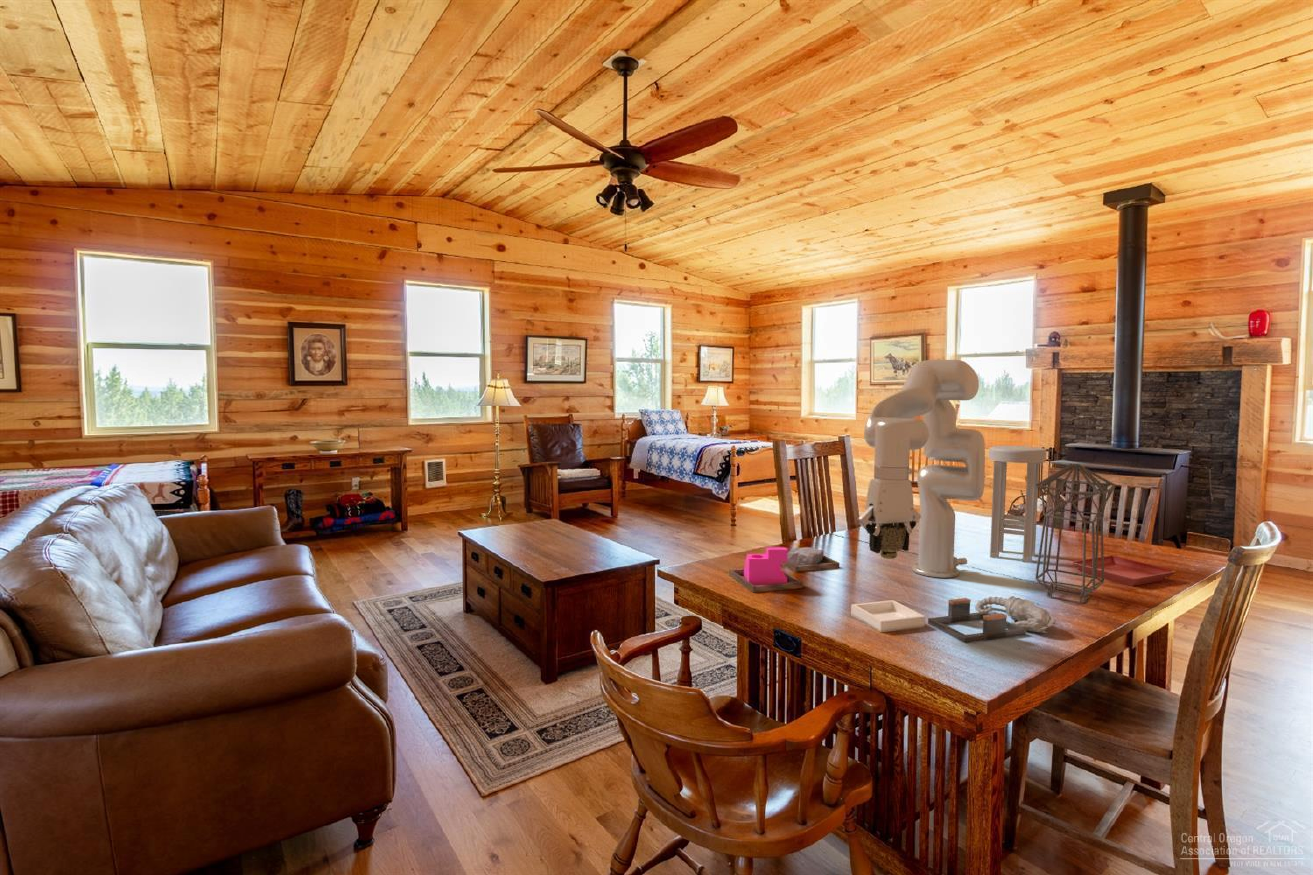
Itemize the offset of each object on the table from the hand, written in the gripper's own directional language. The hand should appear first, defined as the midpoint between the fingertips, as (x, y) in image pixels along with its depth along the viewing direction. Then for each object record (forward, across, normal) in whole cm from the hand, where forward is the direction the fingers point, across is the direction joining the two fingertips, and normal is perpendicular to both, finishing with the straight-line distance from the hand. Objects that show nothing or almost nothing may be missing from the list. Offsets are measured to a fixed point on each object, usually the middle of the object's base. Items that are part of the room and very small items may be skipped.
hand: (889, 550), depth 149 cm
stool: (+17, -74, -38) cm, 85 cm away
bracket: (+17, +14, -36) cm, 42 cm away
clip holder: (+17, -16, +10) cm, 25 cm away
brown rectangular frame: (+17, -6, -50) cm, 53 cm away
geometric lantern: (+17, -55, -1) cm, 58 cm away
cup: (+2, 0, 0) cm, 2 cm away
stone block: (+17, -6, -50) cm, 53 cm away
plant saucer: (+17, -87, -12) cm, 90 cm away
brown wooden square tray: (+17, +14, -36) cm, 42 cm away
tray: (+17, 0, 0) cm, 17 cm away
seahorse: (+17, -29, +8) cm, 34 cm away
